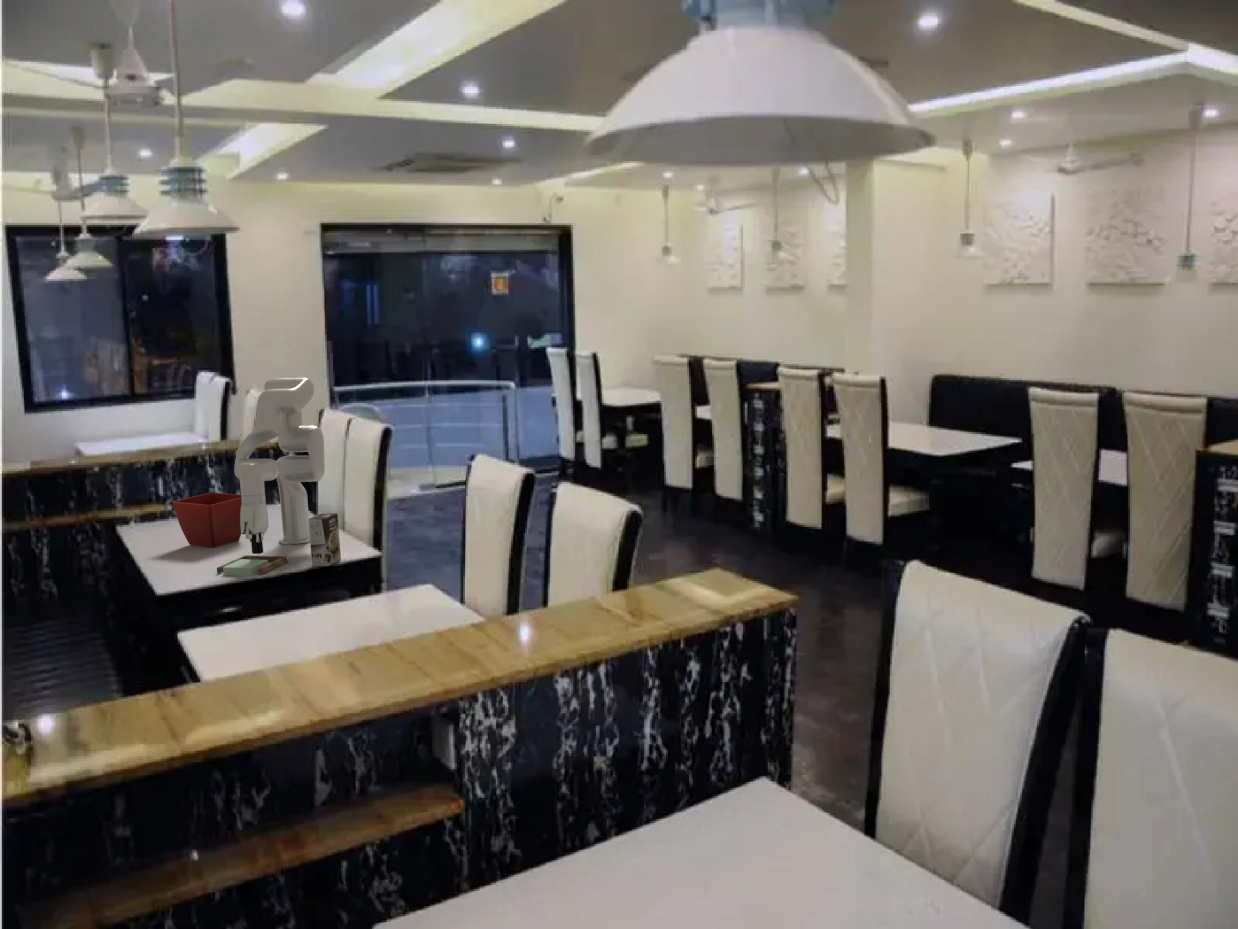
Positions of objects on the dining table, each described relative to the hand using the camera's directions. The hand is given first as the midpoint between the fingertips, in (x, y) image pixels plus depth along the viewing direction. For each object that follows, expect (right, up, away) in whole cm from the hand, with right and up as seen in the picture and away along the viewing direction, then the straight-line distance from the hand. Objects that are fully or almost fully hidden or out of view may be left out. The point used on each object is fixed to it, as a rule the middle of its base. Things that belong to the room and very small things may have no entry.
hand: (257, 553), depth 336 cm
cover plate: (-1, -6, -6) cm, 9 cm away
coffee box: (+23, -4, +1) cm, 23 cm away
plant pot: (-28, 0, +35) cm, 45 cm away
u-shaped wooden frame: (-1, -5, -3) cm, 5 cm away
